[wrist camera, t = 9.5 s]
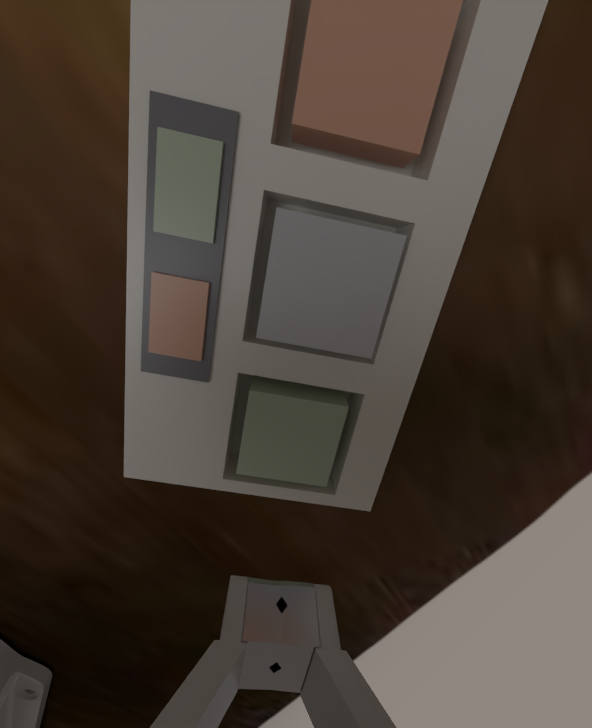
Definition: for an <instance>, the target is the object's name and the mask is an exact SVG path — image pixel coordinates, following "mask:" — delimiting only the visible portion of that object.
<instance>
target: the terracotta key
mask: <svg viewBox="0 0 592 728" xmlns="http://www.w3.org/2000/svg"><path fill="white" fill-rule="evenodd" d="M462 2H463V0H311V6H310V12H309V18H308V24H307V31H306V37H305V43H304V50H303V56H302V62H301V68H300V75H299V81H298V87H297V94H296V100H295V106H294V112H293V119H292V138H291V142H294V143H299V144H303V145H307V146H311V147H315V148H320V149H324V150H328V151H332V152H337V153H341V154H345V155H349V156H353V157H358V158H362V159H366V160H370V161H375V162H379V163H383V164H387V165H391V166H396V167H400V168H403V167H404V166H405V165H407V164H408V163H409V162H411V161H412V160H413V159H415V158H416V157H417V156H418V155H420V152H421V149H422V145H423V141H424V138H425V134H426V131H427V127H428V124H429V120H430V116H431V113H432V109H433V106H434V102H435V99H436V95H437V91H438V88H439V84H440V81H441V77H442V74H443V70H444V66H445V63H446V59H447V56H448V52H449V49H450V45H451V41H452V38H453V34H454V31H455V27H456V24H457V20H458V16H459V13H460V9H461V6H462Z"/></svg>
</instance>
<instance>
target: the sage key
mask: <svg viewBox="0 0 592 728" xmlns="http://www.w3.org/2000/svg"><path fill="white" fill-rule="evenodd" d="M348 409H349V406H348V403H347V401H346V398H345V396H344V393H343V391H342V390H336V389H330V388H325V387H319V386H313V385H307V384H301V383H296V382H290V381H284V380H278V379H272V378H267V377H261V376H255V375H254V376H253V380H252V383H251V386H250V390H249V396H248V402H247V408H246V414H245V421H244V427H243V433H242V440H241V446H240V452H239V459H238V465H237V471H236V474H240V475H247V476H254V477H261V478H268V479H275V480H281V481H288V482H295V483H302V484H309V485H316V486H323V487H327V484H328V480H329V477H330V473H331V469H332V466H333V462H334V459H335V455H336V452H337V448H338V444H339V441H340V437H341V434H342V430H343V426H344V423H345V419H346V416H347V412H348Z"/></svg>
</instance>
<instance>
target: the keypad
mask: <svg viewBox="0 0 592 728" xmlns="http://www.w3.org/2000/svg"><path fill="white" fill-rule="evenodd" d="M547 3H548V0H463V2H462V6H461V9H460V13H459V16H458V20H457V24H456V27H455V31H454V34H453V38H452V41H451V45H450V49H449V52H448V56H447V59H446V63H445V66H444V70H443V74H442V77H441V81H440V84H439V88H438V91H437V95H436V99H435V102H434V106H433V109H432V113H431V116H430V120H429V124H428V127H427V131H426V134H425V138H424V141H423V145H422V149H421V152H420V155H418V156H417V157H416V158H415V159H413V160H412V161H411V162H409V163H408V164H407V165H405V166H404V167H403V168H400V167H396V166H391V165H387V164H383V163H379V162H375V161H370V160H366V159H362V158H358V157H353V156H349V155H345V154H341V153H337V152H332V151H328V150H324V149H320V148H315V147H311V146H307V145H303V144H299V143H294V142H291V138H292V119H293V112H294V106H295V100H296V94H297V87H298V81H299V75H300V68H301V62H302V56H303V50H304V43H305V37H306V31H307V24H308V18H309V12H310V6H311V0H131V28H130V94H129V160H128V226H127V292H126V358H125V425H124V477H128V478H135V479H142V480H149V481H157V482H164V483H171V484H178V485H185V486H192V487H199V488H206V489H214V490H221V491H228V492H235V493H242V494H249V495H256V496H263V497H270V498H278V499H285V500H292V501H299V502H306V503H313V504H320V505H327V506H335V507H342V508H349V509H356V510H363V511H371V508H372V505H373V503H374V500H375V497H376V494H377V491H378V488H379V485H380V482H381V480H382V477H383V474H384V471H385V468H386V465H387V462H388V459H389V457H390V454H391V451H392V448H393V445H394V442H395V439H396V436H397V434H398V431H399V428H400V425H401V422H402V419H403V416H404V413H405V411H406V408H407V405H408V402H409V399H410V396H411V393H412V390H413V388H414V385H415V382H416V379H417V376H418V373H419V370H420V367H421V365H422V362H423V359H424V356H425V353H426V350H427V347H428V344H429V342H430V339H431V336H432V333H433V330H434V327H435V324H436V321H437V319H438V316H439V313H440V310H441V307H442V304H443V301H444V298H445V296H446V293H447V290H448V287H449V284H450V281H451V278H452V275H453V273H454V270H455V267H456V264H457V261H458V258H459V255H460V253H461V250H462V247H463V244H464V241H465V238H466V235H467V232H468V230H469V227H470V224H471V221H472V218H473V215H474V212H475V209H476V207H477V204H478V201H479V198H480V195H481V192H482V189H483V186H484V184H485V181H486V178H487V175H488V172H489V169H490V166H491V163H492V161H493V158H494V155H495V152H496V149H497V146H498V143H499V140H500V138H501V135H502V132H503V129H504V126H505V123H506V120H507V117H508V115H509V112H510V109H511V106H512V103H513V100H514V97H515V94H516V92H517V89H518V86H519V83H520V80H521V77H522V74H523V71H524V69H525V66H526V63H527V60H528V57H529V54H530V51H531V48H532V46H533V43H534V40H535V37H536V34H537V31H538V28H539V26H540V23H541V20H542V17H543V14H544V11H545V8H546V5H547ZM277 207H278V208H283V209H287V210H292V211H296V212H301V213H306V214H310V215H315V216H319V217H324V218H328V219H333V220H338V221H342V222H347V223H351V224H356V225H361V226H365V227H370V228H374V229H379V230H383V231H388V232H393V233H397V234H402V235H406V236H407V237H406V241H405V244H404V247H403V251H402V254H401V258H400V261H399V265H398V268H397V272H396V275H395V279H394V282H393V285H392V289H391V292H390V296H389V299H388V303H387V306H386V310H385V313H384V316H383V320H382V323H381V327H380V330H379V334H378V337H377V341H376V344H375V348H374V351H373V354H372V358H371V359H370V358H364V357H359V356H353V355H348V354H342V353H337V352H331V351H326V350H321V349H315V348H310V347H304V346H299V345H293V344H288V343H282V342H277V341H271V340H266V339H260V338H256V335H257V329H258V322H259V316H260V310H261V303H262V297H263V291H264V284H265V278H266V271H267V265H268V259H269V252H270V246H271V240H272V233H273V227H274V221H275V214H276V208H277ZM254 375H255V376H261V377H267V378H272V379H278V380H284V381H290V382H296V383H301V384H307V385H313V386H319V387H325V388H330V389H336V390H342V391H343V393H344V396H345V398H346V401H347V403H348V406H349V409H348V412H347V416H346V419H345V423H344V426H343V430H342V434H341V437H340V441H339V444H338V448H337V452H336V455H335V459H334V462H333V466H332V469H331V473H330V477H329V480H328V484H327V487H323V486H316V485H309V484H302V483H295V482H288V481H281V480H275V479H268V478H261V477H254V476H247V475H240V474H236V471H237V465H238V459H239V452H240V446H241V440H242V433H243V427H244V421H245V414H246V408H247V402H248V396H249V390H250V386H251V383H252V380H253V376H254Z"/></svg>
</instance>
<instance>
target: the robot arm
mask: <svg viewBox="0 0 592 728" xmlns="http://www.w3.org/2000/svg"><path fill="white" fill-rule="evenodd" d="M51 679H52V672H51V671H50V670H49V669H48V668H46V667H45V666H43V665H41V664H39V663H37V662H34V661H32V660H30V659H28V658H25V657H23V656H21V655H20V654H18V653H17V652H16V651H14V650H13V649H12V648H11V647H9V646H8V645H7V644H6V643H5V642H3V641H2V640H1V639H0V728H40V724H41V720H42V716H43V712H44V708H45V704H46V700H47V696H48V692H49V688H50V684H51ZM238 689H262V690H276V691H286V692H296V693H301V698H302V700H303V702H304V705H305V707H306V709H307V712H308V714H309V716H310V719H311V721H312V723H313V726H314V728H396V727H395V725H394V723H393V722H392V721H391V719H390V717H389V716H388V714H387V713H386V711H385V710H384V708H383V707H382V705H381V704H380V702H379V701H378V699H377V697H376V696H375V694H374V693H373V691H372V690H371V688H370V687H369V685H368V684H367V682H366V681H365V679H364V677H363V676H362V674H361V673H360V672H359V670H358V668H357V667H356V665H355V664H354V662H353V660H352V659H351V657H350V656H349V654H348V653H347V651H344V650H341V647H340V640H339V634H338V627H337V621H336V614H335V608H334V601H333V595H332V589H331V587H330V586H329V585H319V584H312V583H304V582H292V581H274V580H266V579H258V578H251V577H243V576H233V575H231V578H230V582H229V588H228V593H227V599H226V605H225V610H224V616H223V622H222V628H221V634H220V640H214V641H213V643H212V644H211V645H210V647H209V648H208V649H207V651H206V652H205V653H204V655H203V656H202V658H201V659H200V660H199V662H198V663H197V664H196V666H195V667H194V668H193V670H192V671H191V672H190V674H189V675H188V676H187V678H186V679H185V681H184V682H183V683H182V685H181V686H180V687H179V689H178V690H177V691H176V693H175V694H174V695H173V697H172V698H171V700H170V701H169V702H168V704H167V705H166V706H165V708H164V709H163V710H162V712H161V713H160V714H159V716H158V717H157V718H156V720H155V721H154V723H153V724H152V725H151V727H150V728H218V726H219V724H220V722H221V720H222V718H223V717H224V715H225V713H226V711H227V709H228V707H229V706H230V704H231V702H232V700H233V698H234V696H235V695H236V693H237V690H238Z"/></svg>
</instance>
